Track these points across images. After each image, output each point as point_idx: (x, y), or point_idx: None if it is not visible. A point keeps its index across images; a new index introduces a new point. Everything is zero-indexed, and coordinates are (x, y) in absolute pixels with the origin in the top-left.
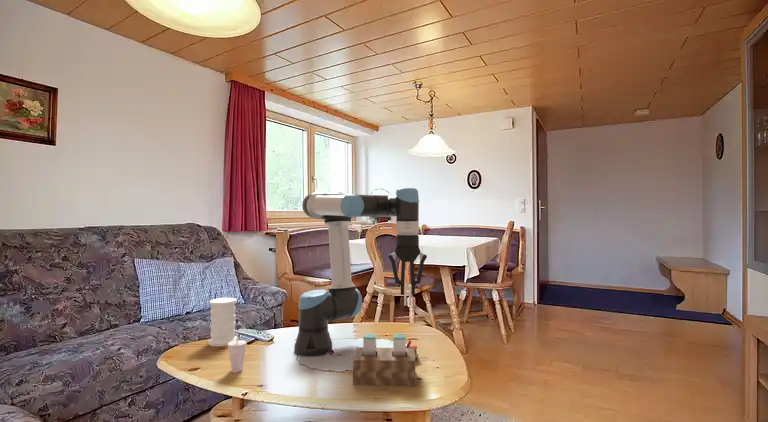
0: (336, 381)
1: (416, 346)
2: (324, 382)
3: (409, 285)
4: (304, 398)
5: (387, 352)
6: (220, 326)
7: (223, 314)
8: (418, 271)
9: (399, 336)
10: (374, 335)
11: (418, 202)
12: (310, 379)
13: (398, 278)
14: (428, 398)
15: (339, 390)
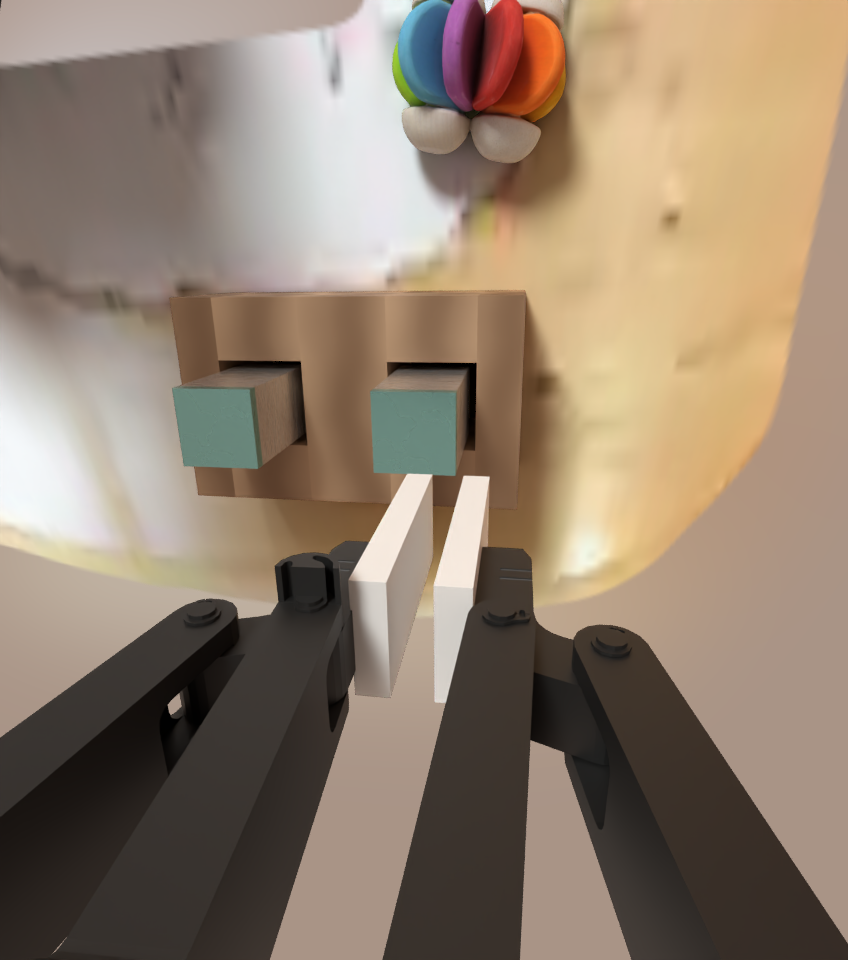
0: (176, 422)
1: (560, 61)
2: (133, 432)
3: (440, 668)
4: (115, 561)
5: (359, 382)
6: None
7: None
8: (639, 941)
9: (413, 446)
10: (244, 424)
11: None
12: (68, 403)
13: (208, 651)
14: (561, 573)
15: (212, 503)
